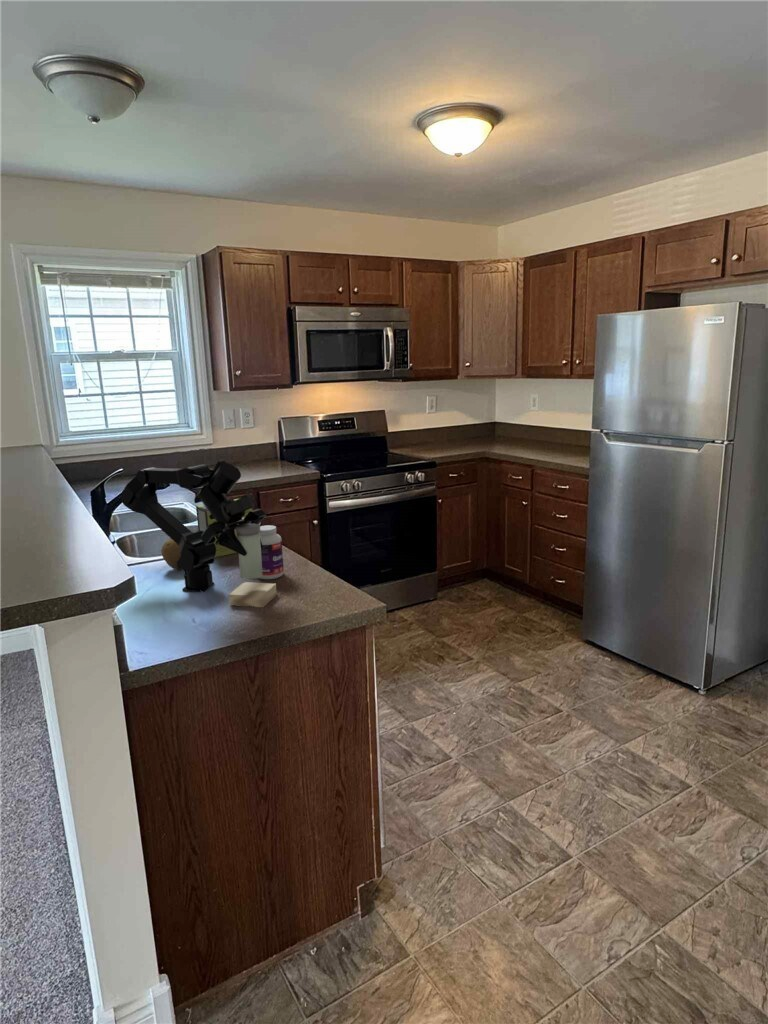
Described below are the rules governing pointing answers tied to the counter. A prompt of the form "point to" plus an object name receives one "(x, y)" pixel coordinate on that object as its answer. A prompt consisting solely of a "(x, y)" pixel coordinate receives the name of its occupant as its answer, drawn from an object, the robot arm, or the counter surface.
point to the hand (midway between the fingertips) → (253, 551)
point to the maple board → (252, 594)
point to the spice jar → (250, 551)
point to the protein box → (205, 521)
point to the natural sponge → (171, 553)
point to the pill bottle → (271, 553)
